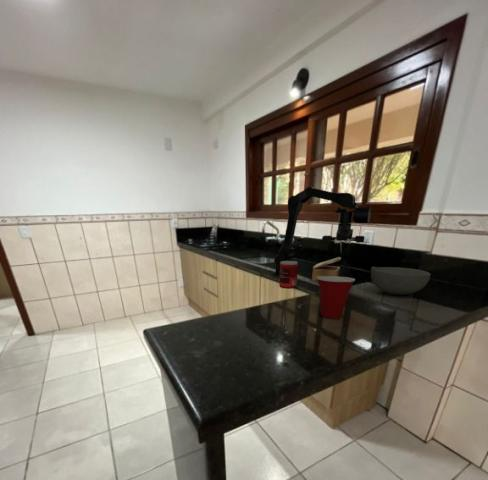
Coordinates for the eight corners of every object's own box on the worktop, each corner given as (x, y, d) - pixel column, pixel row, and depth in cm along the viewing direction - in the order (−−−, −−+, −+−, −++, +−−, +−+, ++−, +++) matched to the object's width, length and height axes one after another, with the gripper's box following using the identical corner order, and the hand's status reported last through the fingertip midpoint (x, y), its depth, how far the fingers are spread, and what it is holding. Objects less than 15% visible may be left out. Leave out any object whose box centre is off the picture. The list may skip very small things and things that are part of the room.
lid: (341, 257, 133) (341, 256, 133) (339, 260, 123) (338, 259, 122) (317, 265, 139) (317, 263, 139) (313, 268, 129) (312, 267, 129)
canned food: (295, 285, 121) (297, 260, 117) (297, 289, 114) (298, 263, 110) (278, 284, 122) (279, 260, 118) (279, 288, 114) (280, 263, 111)
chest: (338, 277, 137) (340, 266, 135) (336, 282, 126) (337, 270, 124) (316, 276, 142) (317, 265, 140) (311, 280, 131) (312, 268, 129)
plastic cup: (349, 312, 84) (354, 274, 80) (350, 323, 74) (356, 281, 70) (314, 308, 87) (318, 272, 83) (311, 319, 78) (315, 278, 73)
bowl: (414, 304, 92) (421, 275, 88) (358, 293, 106) (362, 268, 103) (432, 294, 104) (438, 269, 101) (379, 286, 119) (384, 263, 115)
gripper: (321, 223, 119) (318, 258, 124) (366, 223, 112) (360, 260, 117) (325, 223, 128) (322, 256, 134) (366, 223, 121) (361, 257, 127)
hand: (340, 257), depth 128 cm, fingers closed
